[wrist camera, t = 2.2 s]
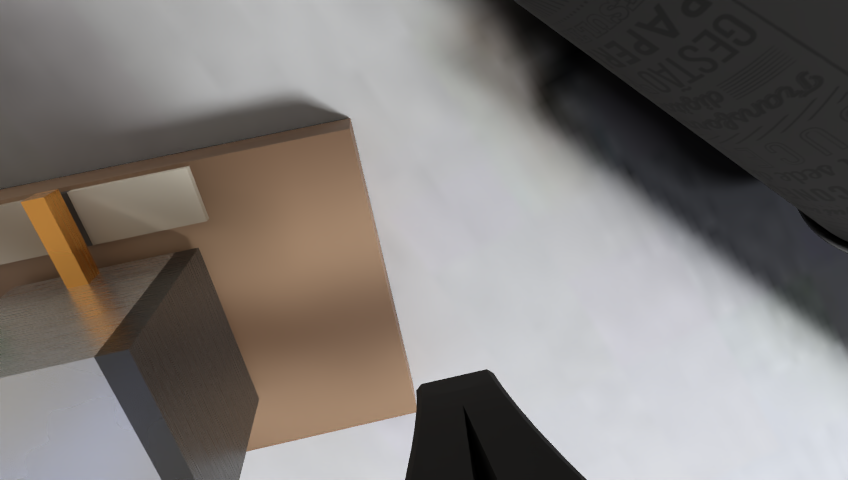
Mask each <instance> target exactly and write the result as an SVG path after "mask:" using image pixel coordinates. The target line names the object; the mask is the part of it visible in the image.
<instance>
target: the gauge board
mask: <svg viewBox="0 0 848 480" xmlns="http://www.w3.org/2000/svg"><path fill="white" fill-rule="evenodd" d="M55 189H58V190H59V192H60V194H61V196H62V198H63V200H64V202H65V204H66V206H67V208H68V210H69V212H70V214H71V216H72V218H73V220H74V222H75V223H76V225H77V227H78V229H79V231H80V233H81V235H82V237H83V239H84V241H85V243H86V245H87V247H88V249H89V251H90V253H91V255H92V257H93V259H94V261H95V263H96V265H97V267H98V269H100V268H104V267H109V266H114V265H118V264H123V263H128V262H133V261H137V260H142V259H147V258H151V257H156V256H161V255H166V254H170V253H175V252H180V251H184V250H189V249H194V248H198V247H199V250H200V252H201V255H202V257H203V260H204V262H205V265H206V267H207V270H208V272H209V275H210V277H211V280H212V282H213V285H214V287H215V290H216V292H217V295H218V297H219V300H220V302H221V305H222V307H223V310H224V312H225V315H226V317H227V320H228V322H229V324H230V327H231V329H232V332H233V334H234V337H235V339H236V342H237V344H238V347H239V349H240V352H241V354H242V357H243V359H244V362H245V364H246V367H247V369H248V372H249V374H250V377H251V379H252V382H253V384H254V387H255V389H256V392H257V394H258V397H259V402H258V406H257V410H256V414H255V418H254V422H253V426H252V430H251V434H250V438H249V442H248V446H247V450H246V451H251V450H255V449H259V448H264V447H268V446H272V445H276V444H281V443H285V442H289V441H294V440H298V439H302V438H307V437H311V436H315V435H320V434H324V433H328V432H333V431H337V430H341V429H346V428H350V427H354V426H359V425H363V424H367V423H372V422H376V421H380V420H385V419H389V418H393V417H398V416H402V415H406V414H411V413H415V412H416V408H417V406H416V400H415V394H414V388H413V382H412V378H411V373H410V369H409V365H408V361H407V356H406V352H405V348H404V344H403V339H402V335H401V331H400V327H399V323H398V318H397V314H396V310H395V306H394V301H393V297H392V293H391V289H390V284H389V280H388V276H387V272H386V267H385V263H384V259H383V255H382V251H381V246H380V242H379V238H378V234H377V229H376V225H375V221H374V217H373V212H372V208H371V204H370V200H369V196H368V191H367V187H366V183H365V179H364V174H363V170H362V166H361V162H360V157H359V153H358V149H357V145H356V140H355V136H354V132H353V128H352V124H351V119H350V118H348V119H343V120H338V121H333V122H328V123H323V124H319V125H314V126H309V127H304V128H299V129H294V130H289V131H284V132H279V133H274V134H270V135H265V136H260V137H255V138H250V139H245V140H240V141H235V142H230V143H225V144H221V145H216V146H211V147H206V148H201V149H196V150H191V151H186V152H181V153H176V154H172V155H167V156H162V157H157V158H152V159H147V160H142V161H137V162H132V163H127V164H123V165H118V166H113V167H108V168H103V169H98V170H93V171H88V172H83V173H79V174H74V175H69V176H64V177H59V178H54V179H49V180H44V181H39V182H34V183H30V184H25V185H20V186H15V187H10V188H5V189H0V298H1V297H2V296H4V295H5V294H6V293H7V292H9V291H10V290H11V289H13V288H14V287H15V286H20V285H24V284H29V283H34V282H39V281H43V280H48V279H53V278H57V277H61V276H60V274H59V273H58V271H57V269H56V267H55V265H54V263H53V262H52V260H51V258H50V256H49V254H48V252H47V250H46V249H45V247H44V245H43V243H42V241H41V239H40V237H39V236H38V234H37V232H36V230H35V228H34V226H33V225H32V223H31V221H30V219H29V217H28V215H27V213H26V212H25V210H24V208H23V206H22V204H21V201H23V200H25V199H27V198H29V197H30V196H32V195H34V194H36V193H41V192H46V191H51V190H55Z"/></svg>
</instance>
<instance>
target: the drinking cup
mask: <svg viewBox="0 0 848 480" xmlns="http://www.w3.org/2000/svg"><path fill="white" fill-rule="evenodd" d="M514 1H515V2H516V3H518V4H519V5H521V6H522V7H523V8H525V9H526V10H527V11H529V12H530V13H531V14H533V15H534V16H536V17H537V18H538V19H540V20H541V21H542V22H544V23H545V24H546V25H548V26H549V27H551V28H552V29H553V30H555V31H556V32H557V33H559V34H560V35H561V36H563V37H564V38H566V39H567V40H568V41H570V42H571V43H572V44H574V45H575V46H577V47H578V48H579V49H581V50H582V51H583V52H585V53H586V54H587V55H589V56H590V57H592V58H593V59H594V60H596V61H597V62H598V63H600V64H601V65H602V66H604V67H605V68H607V69H608V70H609V71H611V72H612V73H613V74H615V75H616V76H617V77H619V78H620V79H622V80H623V81H624V82H626V83H627V84H628V85H630V86H631V87H632V88H634V89H635V90H637V91H638V92H639V93H641V94H642V95H643V96H645V97H646V98H647V99H649V100H650V101H652V102H653V103H654V104H656V105H657V106H658V107H660V108H661V109H662V110H664V111H665V112H667V113H668V114H669V115H671V116H672V117H673V118H675V119H676V120H678V121H679V122H680V123H682V124H683V125H684V126H686V127H687V128H688V129H690V130H691V131H693V132H694V133H695V134H697V135H698V136H699V137H701V138H702V139H703V140H705V141H706V142H708V143H709V144H710V145H712V146H713V147H714V148H716V149H717V150H718V151H720V152H721V153H723V154H724V155H725V156H727V157H728V158H729V159H731V160H732V161H733V162H735V163H736V164H738V165H739V166H740V167H742V168H743V169H744V170H746V171H747V172H748V173H750V174H751V175H753V176H754V177H755V178H757V179H758V180H759V181H761V182H762V183H763V184H765V185H766V186H768V187H769V188H770V189H772V190H773V191H774V192H776V193H777V194H778V195H780V196H781V197H783V198H784V199H785V200H787V201H788V202H789V203H791V204H792V205H794V206H795V207H796V208H797V209H798V211H799V213H800V214H801V216H802V218H803V219H804V221H805V222H806V223H807V225H808V226H809V227H810V229H812V230H813V231H814V232H815V233H816V234H817V235H818V236H819V237H820V238H822V239H823V240H824V241H826V242H827V243H829V244H830V245H832V246H834V247H836V248H837V249H839V250H841V251H843V252H845V253H847V254H848V0H514Z"/></svg>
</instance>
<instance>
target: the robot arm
mask: <svg viewBox="0 0 848 480" xmlns="http://www.w3.org/2000/svg"><path fill="white" fill-rule="evenodd" d="M416 393H417V408H416V420H415V429H414V435H413V442H412V448H411V453H410V458H409V463H408V468H407V473H406V478H405V480H587V479H585V478H584V477H583V476H582V475H581V474H580V473H579V472H578V471H577V470H576V469H575V468H574V467H573V466H572V465H571V464H570V463H569V462H568V461H567V460H566V459H565V458H564V457H563V456H562V455H561V454H560V453H559V451H558V450H557V449H556V448H555V447H554V446H553V445H552V444H551V443H550V442H549V441H548V440H547V439H546V438H545V437H544V436H543V435H542V433H541V432H540V431H539V430H538V429H537V428H536V427H535V426H534V425H533V424H532V422H531V421H530V420H529V419H528V418H527V417H526V415H525V414H524V413H523V412H522V411H521V409H520V408H519V407H518V406H517V405H516V403H515V402H514V401H513V400H512V398H511V397H510V396H509V395H508V393H507V392H506V391H505V389H504V388H503V387H502V385H501V384H500V382H499V381H498V379H497V378H496V376H495V375H494V373H492V372H490V371H489V370H487V369H486V370H482V371H478V372H473V373H469V374H464V375H460V376H455V377H451V378H447V379H442V380H438V381H433V382H429V383H424V384H421V385H420V387H419V388H418V389H417V390H416Z"/></svg>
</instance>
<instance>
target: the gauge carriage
mask: <svg viewBox="0 0 848 480" xmlns="http://www.w3.org/2000/svg"><path fill="white" fill-rule="evenodd" d="M21 204H22V206H23V208H24V210H25V212H26V213H27V215H28V217H29V219H30V221H31V223H32V225H33V226H34V228H35V230H36V232H37V234H38V236H39V237H40V239H41V241H42V243H43V245H44V247H45V249H46V250H47V252H48V254H49V256H50V258H51V260H52V262H53V263H54V265H55V267H56V269H57V271H58V273H59V274H60V276H61V277H57V278H53V279H48V280H43V281H39V282H34V283H29V284H24V285H20V286H15V287H14V288H13V289H11V290H10V291H9V292H7V293H6V294H5V295H4V296H2V297H1V298H0V480H239V478H240V474H241V470H242V466H243V462H244V458H245V454H246V450H247V446H248V442H249V438H250V434H251V430H252V426H253V422H254V418H255V414H256V410H257V406H258V402H259V397H258V394H257V392H256V389H255V387H254V384H253V382H252V379H251V377H250V374H249V372H248V369H247V367H246V364H245V362H244V359H243V357H242V354H241V352H240V349H239V347H238V344H237V342H236V339H235V337H234V334H233V332H232V329H231V327H230V324H229V322H228V320H227V317H226V315H225V312H224V310H223V307H222V305H221V302H220V300H219V297H218V295H217V292H216V290H215V287H214V285H213V282H212V280H211V277H210V275H209V272H208V270H207V267H206V265H205V262H204V260H203V257H202V255H201V252H200V250H199V247H198V248H194V249H189V250H184V251H180V252H175V253H170V254H166V255H161V256H156V257H151V258H147V259H142V260H137V261H133V262H128V263H123V264H118V265H114V266H109V267H104V268H100V269H98V267H97V265H96V263H95V261H94V259H93V257H92V255H91V253H90V251H89V249H88V247H87V245H86V243H85V241H84V239H83V237H82V235H81V233H80V231H79V229H78V227H77V225H76V223H75V222H74V220H73V218H72V216H71V214H70V212H69V210H68V208H67V206H66V204H65V202H64V200H63V198H62V196H61V194H60V192H59V190H58V189H55V190H51V191H46V192H41V193H36V194H34V195H32V196H30V197H29V198H27V199H25V200H23V201H21Z"/></svg>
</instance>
